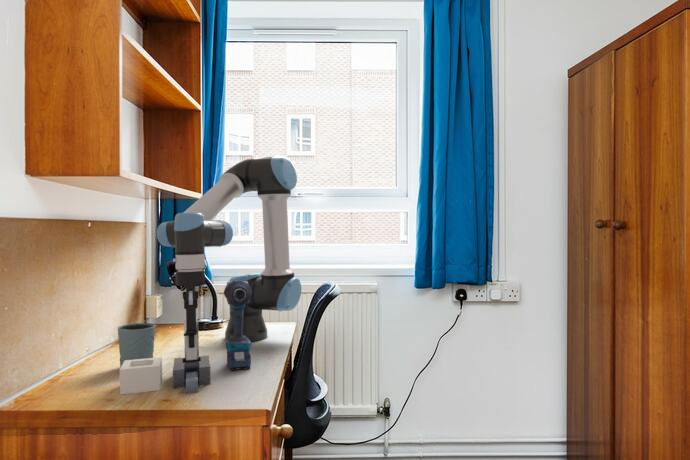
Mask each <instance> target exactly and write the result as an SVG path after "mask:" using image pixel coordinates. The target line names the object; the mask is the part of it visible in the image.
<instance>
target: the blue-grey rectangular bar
mask: <svg viewBox="0 0 690 460" xmlns="http://www.w3.org/2000/svg"><path fill="white" fill-rule="evenodd" d="M192 393H199V379H198V372H188V373H186V381H185V394H192Z"/></svg>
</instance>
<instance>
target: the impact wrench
mask: <svg viewBox="0 0 690 460" xmlns="http://www.w3.org/2000/svg"><path fill="white" fill-rule="evenodd" d="M251 293H252V290H251V288H250V286H249V284H248V282H247V281H241V280H233V281H230V280H229V281H227V282H226V286H225V287H224V290H223V295H224V297H225V298H226V302H227V305H229V306H230V305H232V309H233V330H234V335H233V336H231V337H230V338H229V339H228V340H226V342H225V349H226V364H227V365H226V366H227V370H229V371H233V370H249V369H251V367H252V366H251V365H252V364H251V363H252V356H251V349H252V341H250V340H249V339H248V338H247V337H246V336H245V335H243V317H244V316H243V310H244V308H246V304H248V302H249V299H250V297H251Z"/></svg>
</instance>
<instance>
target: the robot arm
mask: <svg viewBox="0 0 690 460" xmlns="http://www.w3.org/2000/svg"><path fill="white" fill-rule="evenodd" d="M297 183H298V175H297V169H296V167H295V166H294V164H293V162H292V160H291V159H290V158H288V157H287V156H282V155H280V156H279V155H278V156H277V155H274V156H265V157H264V156H263V157H255V158H254V157H252V158H247V159H244V160H242V161H240V162H238V163H236V164H234V165H233V166H231V167H229V168H228V169H227V170H225V172H224V173H222V174H220V176H219V179H218V181H217V182H216V184H214V185H213V186H212V187H211V188H210V189H208V190H207V191H206V192H205V193H204V194H203V195H202V196H201V197H200V198H198V199H197V200H196V201H195V202H194V203H193V204H192V205H190V206H189V207H188V208H187V209H186V210H185V211H183V212H178V213H177V214H175V216H174V220H172V221H171V220H168V221H165V222H161V223H160V224H159V225H158V227H157V229H156V237H157V240H158V243H159V244H160V245H162V246H164V247H170V248H174V249H175V250H174V255H175V257H174V258H173V259H172V262H173V263H175V270H177V271H176V272H175V285H176V286H179V287H185V291H182V299H183V308H184V310H185V317H186V318H185V320H186V333H185V334H184V333H183V337H184V336H186V359H187V360H195V359H197V330H196V319H197V308H198V307H199V306H198V299H199V290H196V288H195V287H196V286H202V285H204V284H205V283H206V272H205V270H204V269H206V268H205V267H206V263H205V262H206V259H205V258H206V257H205V248H212V247H213V248H215V247H216V248H217V247H219V248H220V247H223V246H227V245H229V244H230V243H231V241H232V240H233V235H234V232H233V227H232V226H231V224H230V223H228V222H227V221H224V220H220V219H219V220H213V219H214V218H215V217H216V216H217V215H218V214H219V213H220V212H221V211H222V210H224V208H225V207H226V206H228V205H229V203H231V202H232V201H233V200H234V199H237V198H240V197H241V196H242V195H243V194H245V193H250V192H257V197H258V198H259V199H260V200H261V202H262V203H261V205H262V206H261V207H262V223H263V224H262V225H263V226H262V227H263V246H264V250H263V251H264V270H262V271H261V272H256V273H250V274H249V273H248V274H242V275H235V276H232V277H230V279H229V282H230V281H233V280H241V281H247V282H248V284H249V286H250V288H251V290H252V293H251V297H250V299H249V302H248V304H246V308H244V310H243V316H244V317H243V335H245V336H246V337H247V338H248V339H249V340H250V341H251V342H256V341H257V342H258V341H261V340H264V339H266V338H268V329H267V325H266V323H265V320H264V317H263V311H278V312H288V311H289V312H290V311H293V310H294V309H295V308H296V307H297V306H298V304H299V302H300V299H301V295H302V283H301V281H300V279H299V278H298V277H295V271H294V269H292V268H291V266H290V245H289V244H290V243H289V242H290V241H289V223H288V222H289V220H288V218H289V217H288V199H289V197H291V196H292V190H293V189H295V187H297ZM198 331H200V328H199V326H198ZM233 335H234V330H233V309H232V305H229V317H228V322H227V326H226V329H225V333H224V338H225V340H226V341H227V340H228V339H229V338H230V337H231V336H233Z"/></svg>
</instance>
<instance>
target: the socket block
mask: <svg viewBox="0 0 690 460" xmlns="http://www.w3.org/2000/svg"><path fill="white" fill-rule="evenodd" d="M188 372H198V386H206V385H208V386H209V385H211V379H212V378H211V362H210V355H199V361H197V362H186V363H185V357H178V358H177V357H175V358H174V360H173V366H172V387H173V389H180V388H186V373H188Z"/></svg>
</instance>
